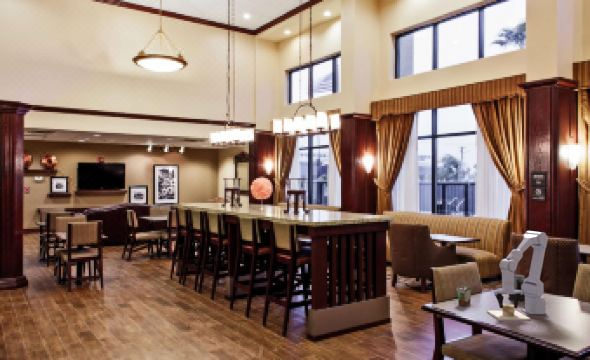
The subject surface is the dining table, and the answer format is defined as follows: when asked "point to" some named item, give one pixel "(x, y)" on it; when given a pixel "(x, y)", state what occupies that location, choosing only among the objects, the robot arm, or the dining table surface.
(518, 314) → the painted board
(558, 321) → the dining table surface
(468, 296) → the food container
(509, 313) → the oak cube
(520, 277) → the milk frother
